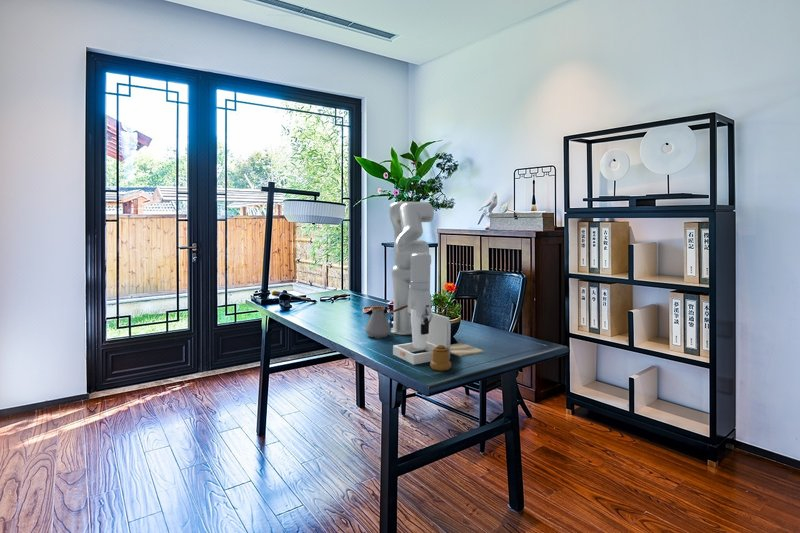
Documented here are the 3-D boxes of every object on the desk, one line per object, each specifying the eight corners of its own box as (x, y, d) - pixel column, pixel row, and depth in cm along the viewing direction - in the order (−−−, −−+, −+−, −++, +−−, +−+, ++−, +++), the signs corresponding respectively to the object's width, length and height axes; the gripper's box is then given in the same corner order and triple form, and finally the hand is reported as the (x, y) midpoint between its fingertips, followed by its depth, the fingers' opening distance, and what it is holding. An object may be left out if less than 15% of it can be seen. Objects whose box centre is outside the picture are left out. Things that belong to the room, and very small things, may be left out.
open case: (392, 354, 183) (392, 315, 182) (426, 348, 192) (427, 311, 190) (414, 365, 169) (414, 323, 168) (451, 359, 178) (451, 318, 176)
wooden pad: (438, 348, 193) (438, 346, 193) (462, 344, 199) (462, 342, 199) (459, 356, 181) (459, 355, 181) (484, 352, 187) (484, 350, 187)
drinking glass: (417, 351, 177) (418, 311, 175) (407, 346, 182) (407, 308, 180) (431, 347, 181) (432, 309, 179) (420, 343, 186) (421, 306, 184)
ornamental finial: (455, 368, 166) (439, 372, 162) (441, 363, 172) (425, 367, 168) (456, 346, 166) (439, 350, 161) (441, 342, 172) (425, 345, 167)
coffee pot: (363, 339, 207) (363, 305, 206) (367, 332, 218) (367, 300, 217) (412, 340, 205) (412, 306, 204) (413, 333, 217) (413, 301, 215)
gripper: (399, 283, 184) (399, 328, 186) (424, 289, 169) (423, 338, 171) (416, 281, 188) (415, 325, 190) (441, 288, 173) (440, 336, 175)
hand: (419, 331), depth 181 cm, fingers closed on drinking glass, 6 cm apart
